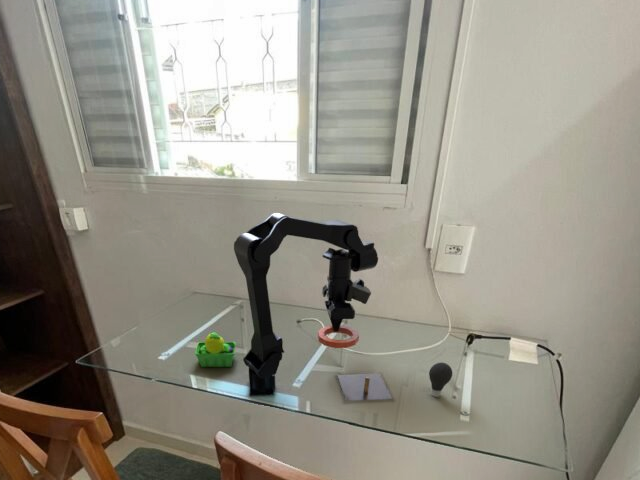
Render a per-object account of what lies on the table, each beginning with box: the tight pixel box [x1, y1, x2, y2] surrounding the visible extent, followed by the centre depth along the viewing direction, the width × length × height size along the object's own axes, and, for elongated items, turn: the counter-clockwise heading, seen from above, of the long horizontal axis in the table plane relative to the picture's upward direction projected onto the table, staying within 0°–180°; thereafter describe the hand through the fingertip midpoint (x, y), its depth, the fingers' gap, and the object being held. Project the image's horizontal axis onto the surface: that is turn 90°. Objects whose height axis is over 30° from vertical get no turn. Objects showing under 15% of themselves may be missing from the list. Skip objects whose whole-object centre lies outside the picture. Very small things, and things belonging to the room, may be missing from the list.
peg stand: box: [337, 373, 393, 402], centre depth 112 cm, size 12×13×5 cm
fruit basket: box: [194, 332, 236, 368], centre depth 121 cm, size 11×9×11 cm
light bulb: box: [428, 362, 453, 398], centre depth 107 cm, size 6×6×10 cm
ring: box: [317, 324, 360, 349], centre depth 113 cm, size 11×11×2 cm
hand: (335, 330), depth 117 cm, fingers closed on ring, 2 cm apart
